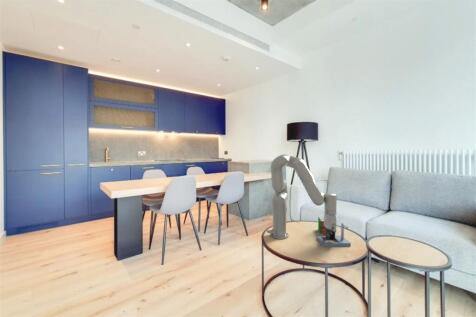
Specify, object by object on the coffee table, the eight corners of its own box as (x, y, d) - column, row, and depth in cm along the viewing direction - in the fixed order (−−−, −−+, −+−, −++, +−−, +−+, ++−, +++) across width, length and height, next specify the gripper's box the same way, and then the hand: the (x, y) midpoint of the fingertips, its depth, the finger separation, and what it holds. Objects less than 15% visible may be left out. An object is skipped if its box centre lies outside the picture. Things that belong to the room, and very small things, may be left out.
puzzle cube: (334, 235, 163) (335, 221, 162) (320, 234, 164) (320, 221, 164) (331, 230, 172) (331, 217, 172) (318, 229, 174) (318, 217, 174)
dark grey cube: (327, 240, 147) (327, 231, 147) (324, 236, 153) (324, 228, 153) (336, 240, 147) (336, 231, 147) (332, 236, 153) (332, 228, 153)
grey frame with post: (324, 247, 143) (324, 227, 143) (316, 238, 156) (316, 220, 155) (351, 246, 144) (351, 226, 143) (341, 238, 156) (341, 220, 156)
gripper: (319, 208, 158) (319, 232, 159) (330, 215, 140) (330, 243, 141) (330, 207, 158) (330, 232, 159) (342, 215, 141) (341, 242, 142)
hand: (330, 237), depth 150 cm, fingers closed on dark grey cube, 6 cm apart
